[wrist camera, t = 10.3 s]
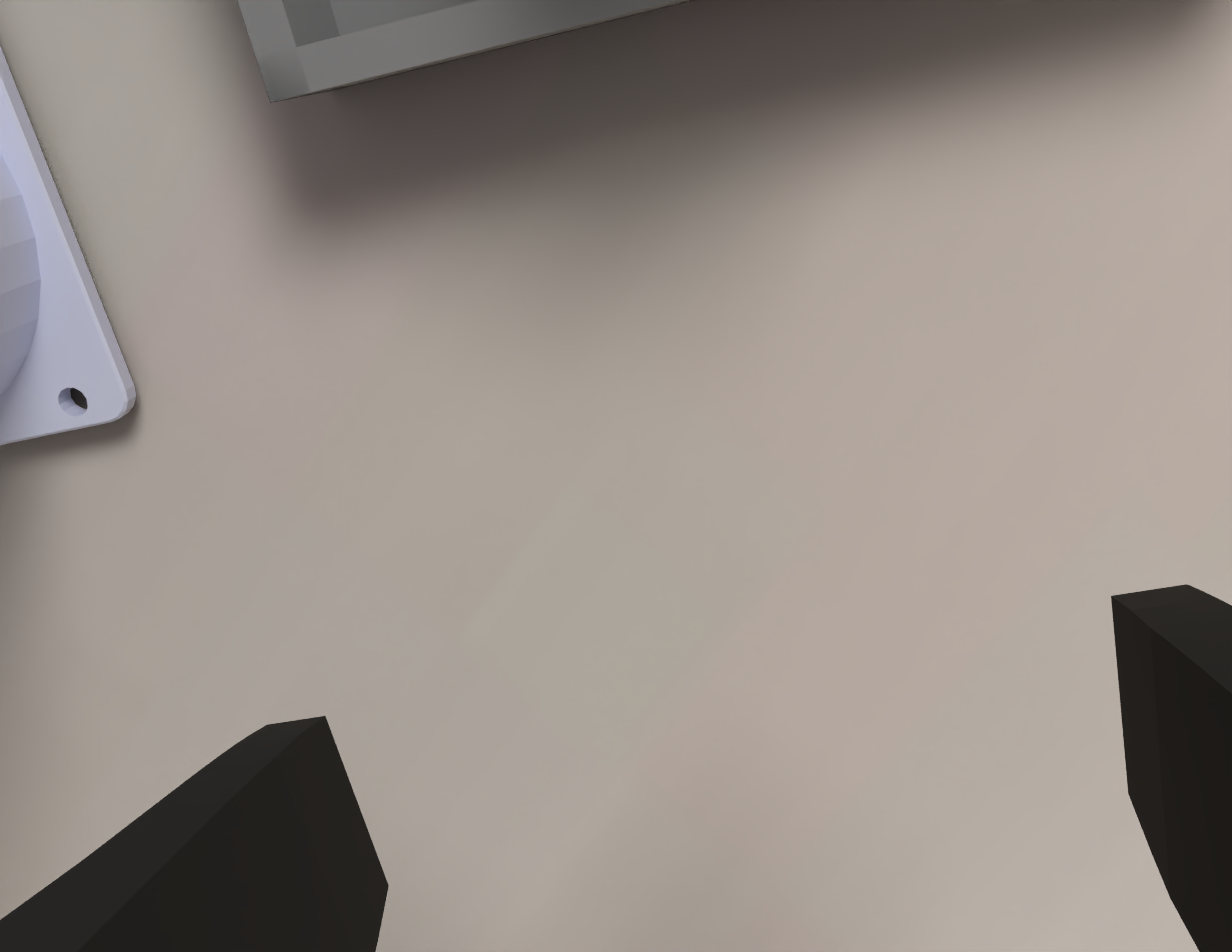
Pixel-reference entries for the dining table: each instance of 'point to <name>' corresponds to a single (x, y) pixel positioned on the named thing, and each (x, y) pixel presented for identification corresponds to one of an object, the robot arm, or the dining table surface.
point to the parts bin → (400, 34)
